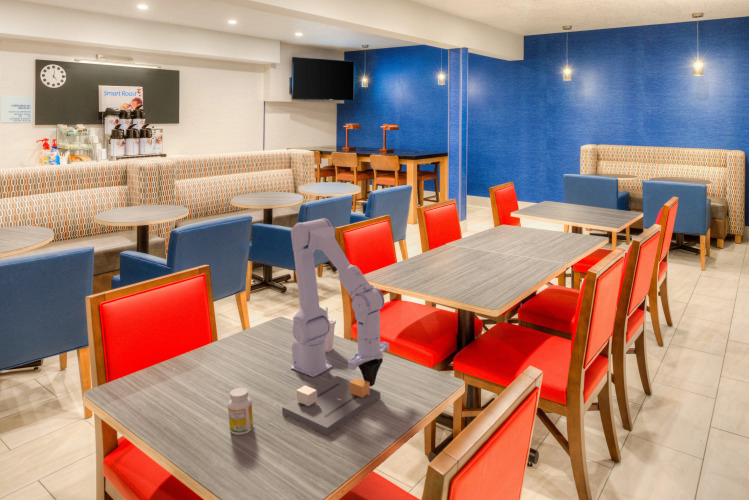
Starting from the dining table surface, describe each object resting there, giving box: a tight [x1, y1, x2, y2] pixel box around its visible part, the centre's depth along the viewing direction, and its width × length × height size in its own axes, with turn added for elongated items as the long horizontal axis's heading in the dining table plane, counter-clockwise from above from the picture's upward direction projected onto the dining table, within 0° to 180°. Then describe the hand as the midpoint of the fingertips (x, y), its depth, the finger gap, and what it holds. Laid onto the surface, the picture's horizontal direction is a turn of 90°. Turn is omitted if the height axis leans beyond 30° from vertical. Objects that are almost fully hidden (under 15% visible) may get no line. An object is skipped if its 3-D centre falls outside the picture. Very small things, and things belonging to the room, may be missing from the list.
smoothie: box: [325, 306, 337, 353], centre depth 163 cm, size 6×6×14 cm
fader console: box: [281, 375, 381, 436], centre depth 132 cm, size 15×20×2 cm
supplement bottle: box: [227, 387, 254, 436], centre depth 122 cm, size 5×5×10 cm
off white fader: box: [296, 384, 317, 406], centre depth 130 cm, size 4×3×3 cm
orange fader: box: [350, 377, 371, 398], centre depth 133 cm, size 4×3×3 cm
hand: (369, 384), depth 137 cm, fingers closed
